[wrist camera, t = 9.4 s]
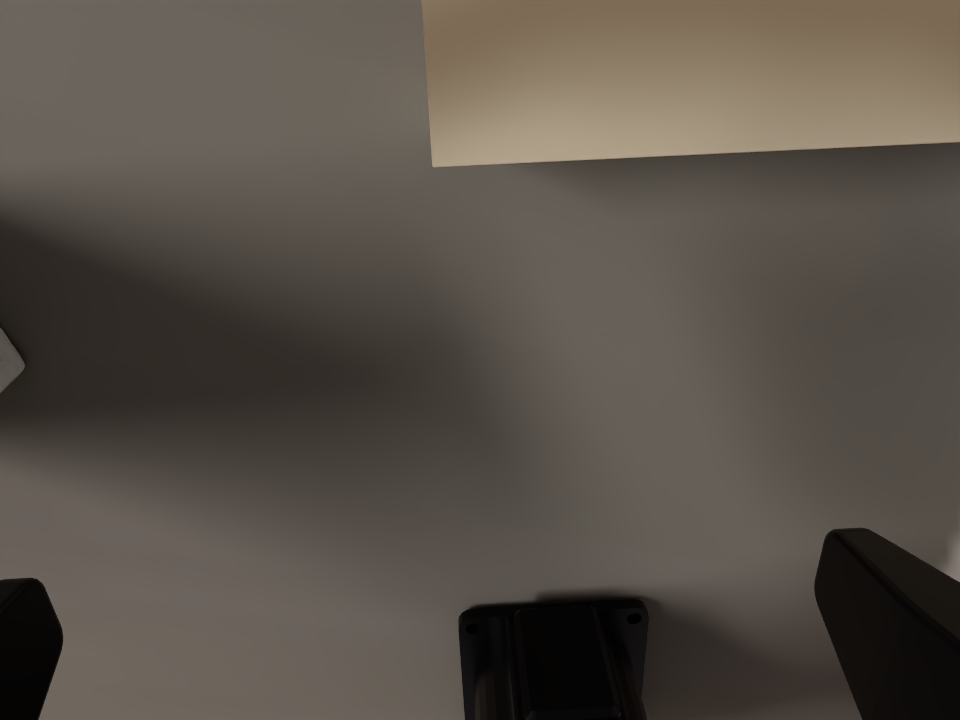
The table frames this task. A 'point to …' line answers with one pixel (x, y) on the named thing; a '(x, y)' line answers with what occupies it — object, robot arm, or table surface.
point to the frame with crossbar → (686, 77)
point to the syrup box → (9, 362)
